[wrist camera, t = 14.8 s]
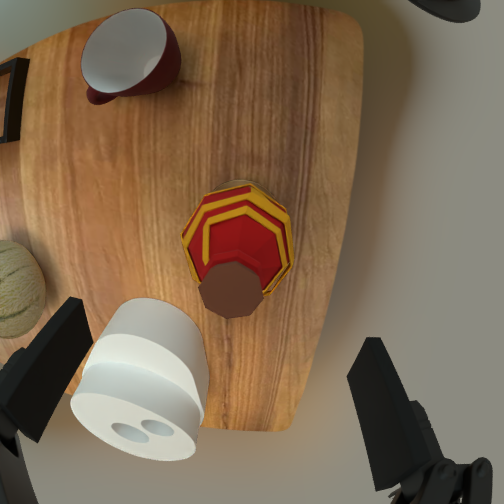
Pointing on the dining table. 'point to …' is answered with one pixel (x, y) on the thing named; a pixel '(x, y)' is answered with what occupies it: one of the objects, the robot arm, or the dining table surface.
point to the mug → (129, 56)
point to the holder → (14, 97)
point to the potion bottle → (237, 248)
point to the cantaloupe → (19, 290)
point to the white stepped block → (146, 382)
